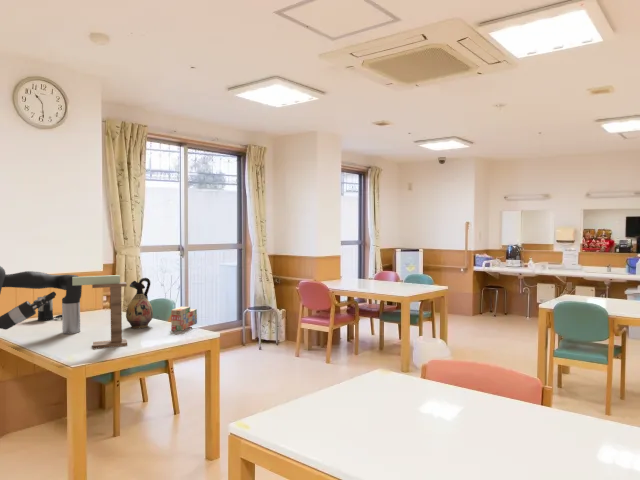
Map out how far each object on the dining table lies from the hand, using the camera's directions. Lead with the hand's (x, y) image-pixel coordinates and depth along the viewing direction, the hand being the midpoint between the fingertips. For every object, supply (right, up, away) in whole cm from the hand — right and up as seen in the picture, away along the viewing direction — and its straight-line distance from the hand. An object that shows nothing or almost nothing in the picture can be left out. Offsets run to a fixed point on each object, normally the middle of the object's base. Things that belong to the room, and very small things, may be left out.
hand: (54, 294), depth 245 cm
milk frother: (-44, -25, +80) cm, 95 cm away
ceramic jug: (+22, -26, +57) cm, 67 cm away
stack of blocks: (+49, -26, +57) cm, 80 cm away
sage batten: (+17, +4, +8) cm, 19 cm away
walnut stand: (+23, -28, +11) cm, 37 cm away
